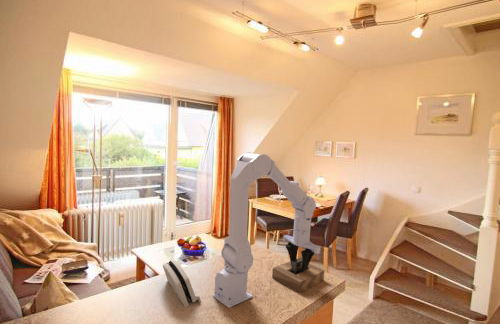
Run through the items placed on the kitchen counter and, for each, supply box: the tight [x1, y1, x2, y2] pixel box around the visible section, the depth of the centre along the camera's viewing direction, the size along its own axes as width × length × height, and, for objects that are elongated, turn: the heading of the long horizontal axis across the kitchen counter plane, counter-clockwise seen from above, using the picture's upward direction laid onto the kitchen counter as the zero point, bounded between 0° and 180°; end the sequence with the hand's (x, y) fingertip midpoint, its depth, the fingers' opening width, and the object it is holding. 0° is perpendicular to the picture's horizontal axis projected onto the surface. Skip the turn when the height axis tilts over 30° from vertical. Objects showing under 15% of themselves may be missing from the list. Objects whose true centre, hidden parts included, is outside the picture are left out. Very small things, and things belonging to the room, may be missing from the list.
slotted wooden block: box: [271, 261, 325, 293], centre depth 98 cm, size 14×12×4 cm
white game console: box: [162, 258, 202, 308], centre depth 84 cm, size 17×5×10 cm, turn 33°
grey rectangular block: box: [291, 256, 305, 275], centre depth 97 cm, size 6×2×7 cm, turn 133°
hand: (298, 266), depth 97 cm, fingers open, 4 cm apart
